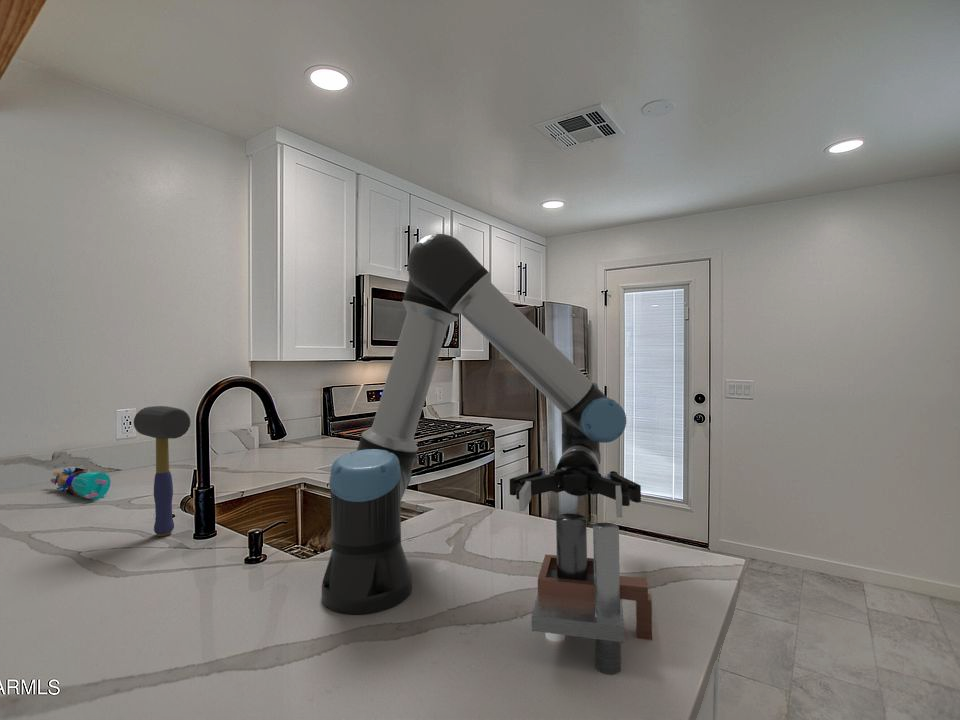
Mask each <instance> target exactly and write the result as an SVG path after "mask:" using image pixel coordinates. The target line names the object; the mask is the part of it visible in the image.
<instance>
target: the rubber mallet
mask: <svg viewBox="0 0 960 720" xmlns="http://www.w3.org/2000/svg"><path fill="white" fill-rule="evenodd" d="M133 426H134V429H135V431H136V432H137V433H139V434H140V435H143V436H146V437H150V438H155V475H154V479H153V480H154V481H153V499H154V500H153V501H154V504H155V505H154V507H155V509H154V510H155V511H154V512H155V521H154V526H153V531H154V533H155V534H156V536H157V537H165V536H168V535H170V534H172V532H173V530H174V528H175V523H174V520H173V496H174V487H173V486H174V484H173V477H172V473H171V471H170V457H169V451H170V450H169V439H170V440H171V439H177V438H178V439H179V438H181V437H183V436H184V435H185V434H186V433H188V431H189V430H190V429H189V428H190V427H191V417H190V415H189V413H187V412H186V411H185V410H184V409H182V408H179V407H173V406H167V405H166V406H165V405H161V406H160V405H159V406H157V405H156V406H155V405H154V406H147V407H143V408H141V409H140V410H139V411H138V412H137V413H136V414H135V416H134V418H133Z"/></svg>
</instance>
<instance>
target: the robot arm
mask: <svg viewBox="0 0 960 720" xmlns="http://www.w3.org/2000/svg"><path fill="white" fill-rule="evenodd" d="M407 270H408V271H407V272H408V276H409V278H408V282H407V285H406V289H405V291H404V294H403V295H404V296H403V299H402V305H403V306H404V309H405V310H406V315H405V318H404V321H403V325H402V328H401V332H400V335H399V338H398V341H397V345H396V347H395V351H394V355H393V357H392V361H391V365H390V367H389V370H388V374H387V376H386V377H387V378H386V379H385V383H384V386H383V391H382V393H381V397H380V399H379V402H378V406H377V409H376V413H375V416H374V419H373V423H372V425H371V427H370V428H367V429H366V430H364V431H362V433H361V436H360V438H359V442H358V445H357V449H356V450H354V451H351V452H349V453H345V454H342V455H340V456H339V457H337V458H336V459H335V460H334V461H333V463H332V464H331V466H330V475H329V489H330V528H331V529H330V531H331V553H330V555H329V560H328V563H327V565H326V569H325V572H324V575H323V579H322V582H321V602H322V604H323V605H324V606H325V607H326V608H328V609H329V610H330V611H334V612H337V613H341V614H349V615H353V614H354V615H359V614H360V615H362V614H369V613H376V612H379V611H383V610H387V609H389V608H392V607H395V606H396V605H398V604H400V603H402V602H403V601H405V600H406V599H407V598H408V597H409V595H410V594H411V593H412V590H413V575H412V571H411V568H410V566H409V562H408V560H407V557H406V553H405V552H404V551H405V550H404V548H403V546H402V523H401V522H402V521H401V519H402V518H401V517H402V516H401V501H402V499H403V496H404V494H405V493H406V490H407V489H408V487H409V484H410V482H411V478H412V471H413V468H414V464H415V461H416V457H417V454H418V450H419V447H418V445H417V443H416V441H415V434H416V432H417V428H418V426H419V421H420V419H421V415H422V412H423V409H424V405H425V402H426V400H427V399H426V398H427V396H428V392H429V389H430V386H431V383H432V379H433V376H434V372H435V370H436V367H437V363H438V359H439V356H440V352H441V350H442V346H443V343H444V340H445V336H446V333H447V330H448V327H449V326H450V325H451V324H453V323H454V322H456V321H458V320H459V317H460V315H461V316H463V318H465V319H466V321H468V322H469V324H471V326H473V327H474V328H475V329H476V330H477V331H478V332H479V333H480V334H481V335H482V336H483V337H484V338H485V339H486V340H487V341H488V342H489V343H490V344H491V346H493V347H494V348H495V349H496V350H497V351H499V352H500V353H501V355H502V356H503V357H505V359H506V360H508V361H509V363H510V364H511V365H513V366H514V367H515V368H516V370H518V371H519V372H520V373H521V374H522V375H523V376H524V377H525V378H526V379H527V380H528V381H529V382H530V383H531V384H532V385H533V386H534V387H535V388H536V389H537V390H538V391H539V392H540V393H542V395H544V397H545V398H546V399H548V400H549V401H550V402H551V403H552V405H554V406H555V407H556V408H557V409H558V410H559V411H560V412H561V413H560V414H561V415H560V416H561V457H560V458H559V461H558V462H557V465H556V468H555V470H551V471H550V472H549V473H548V472H546V470H545V469H544V468H542V467H538V468H536V469H535V470H533V471H530V472H526V473H523V474H522V475H518V476H514V477H511V478H509V495H510V496H516V497H515V498H516V500H518V501H519V503H518V505H519V506H518V507H519V509H518V510H519V512H526V509H527V508H528V505H529V504H530V502H531V500H532V496H535V495H541V494H544V493H548V492H554V493H561V492H565V493H566V494H569V495H571V496H575V497H582V496H586V495H588V494H591V495H594V496H595V495H601V496H604V497H607V498H610V499H613V500H615V509H616V510H615V513H616V518H623V507H629V506H630V505H631V503H630V501H631V502H634V503H636V504H637V503H641V502H642V487H641V486H642V485H640V484H638V483H636V482H634V481H632V480H630V479H628V478H626V477H624V476H622V475H620V474H618V472H617V471H614V470H611V471H609V472H608V473H607V475H602V474H601V472H600V464H601V451H600V448H601V447H600V444H601V443H603V444H604V443H605V444H606V443H611V442H614V441H615V440H617V439H618V438H621V436H622V435H623V433H624V431H625V430H626V427H627V415H626V412H625V410H624V408H623V407H622V406H621V405H620V404H619V403H618V402H617V401H616V400H614V399H612V398H609V397H607V396H606V395H605V394H604V393H603V392H602V391H601V390H600V389H599V385H598V384H597V383H596V382H592V381H591V380H590V379H589V378H588V377H587V376H586V375H585V374H584V373H583V372H582V371H581V370H580V369H579V368H578V367H577V366H576V365H575V364H574V363H573V362H572V361H571V360H570V359H569V358H568V357H567V356H566V354H564V353H563V352H562V351H561V349H558V347H557V346H556V345H555V344H553V342H552V341H551V340H550V339H548V337H547V336H546V335H544V334H543V332H542V331H540V330H539V328H538V327H536V326H535V324H534V323H532V322H531V321H530V319H528V318H527V316H525V315H524V314H523V313H522V312H521V311H520V309H518V308H517V306H515V305H514V304H513V303H512V302H511V301H510V300H509V299H508V297H506V296H505V295H504V294H503V293H502V292H501V291H500V289H498V288H497V287H496V286H495V285H494V284H493V283H492V282H491V280H492V279H491V273H490V272H489V270H487V269H486V268H485V266H484V265H482V264H481V263H480V262H479V260H478V259H477V258H476V257H475V256H474V255H473V253H472V252H470V250H469V248H467V247H466V246H465V244H463V243H462V242H461V241H460V240H459V239H458V238H455V237H454V236H451V235H449V234H445V233H433V234H429V235H426V236H425V237H423V238H421V239H420V240H418V241H417V242H416V243H415V244H414V246H413V247H412V249H411V250H410V253H409V255H408V260H407Z"/></svg>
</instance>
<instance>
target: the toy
mask: <svg viewBox="0 0 960 720" xmlns="http://www.w3.org/2000/svg"><path fill="white" fill-rule="evenodd" d="M52 476H54V477H55V478H51V479H50V482H51V484H53V485H54V486H56V484H57V486H58V487H56V490H60V492H63V491H65V493H66V494H68V495H70V496H71V495H72V496H74V497H82V498H85V499H87V500H91V501H96V500H100V499H102V498H103V497H105V496H106V495H107V493H108V491H109V489H110V487H111V478H110V476H109V475H108V474H106V473H105V472H99V471H89V469H86V468H85V469H84V468H79V467H75V468H74V470H72V468H70V467H68V468H67V469H66V468H62V472H61V471H60V470H56V471H54V472H53V473H52Z"/></svg>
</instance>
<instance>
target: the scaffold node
mask: <svg viewBox="0 0 960 720" xmlns="http://www.w3.org/2000/svg"><path fill="white" fill-rule="evenodd" d="M619 528H620V527H619V526H618V525H617V524H615V523H611V522H596V523H595V524H593V526H592V532H593V533H592V534H593V536H592V538H593V539H592V540H593V543H592V544H593V549H592V550H593V557H587V581H581V580H571V579H560V578H557V554H544V558H543V561H542V565H541V568H540V570H539V574H538V577H537V596H536V599H535V602H534V607H533V609H532V613H531V631H532V632H537V633H546V634H552V635H553V634H554V635H561V636H571V637H578V638H585V639H594V661H595V663H594V664H595V665H594V666H595V668H596V670H598V671H599V672H600V673H602V674H605V675H617V674H619V673H620V672H621V670H622V645H621V643H625V623H624V621H625V618H624V606H623V605H624V604H623V602H624V601H623V600H625V601H635V615H636V616H635V617H636V618H635V620H636V621H635V623H636V624H635V625H636V627H635V629H636V638H637V639H645V640H653V616H652V615H653V610H652V608H653V606H652V603H653V602H652V601H653V600H652V596H651V593H649V585H648V581H647V578H646V577H638V576H637V577H636V576H629V575H627V576H626V575H620V573H621V572H620V571H621V570H620V568H621V567H620V529H619Z"/></svg>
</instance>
